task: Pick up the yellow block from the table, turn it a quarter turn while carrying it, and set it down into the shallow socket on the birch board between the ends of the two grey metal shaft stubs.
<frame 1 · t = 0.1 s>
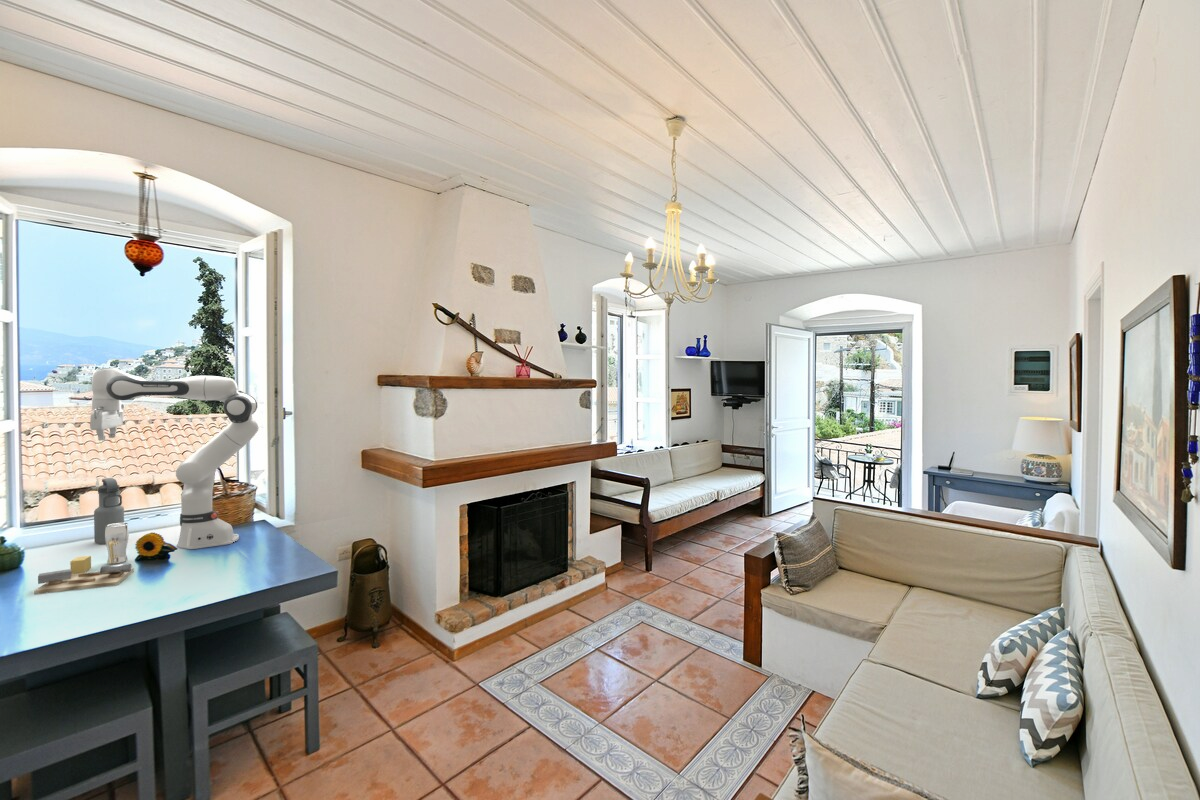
hand: (107, 438, 218), 48 cm above the table, fingers open, 8 cm apart
water bottle: (109, 541, 233), on the table
yellow block: (81, 571, 198), on the table
beer glass: (117, 562, 208), on the table
board: (86, 582, 188), on the table
shafts: (85, 572, 187), on the board, point 4 cm above the table
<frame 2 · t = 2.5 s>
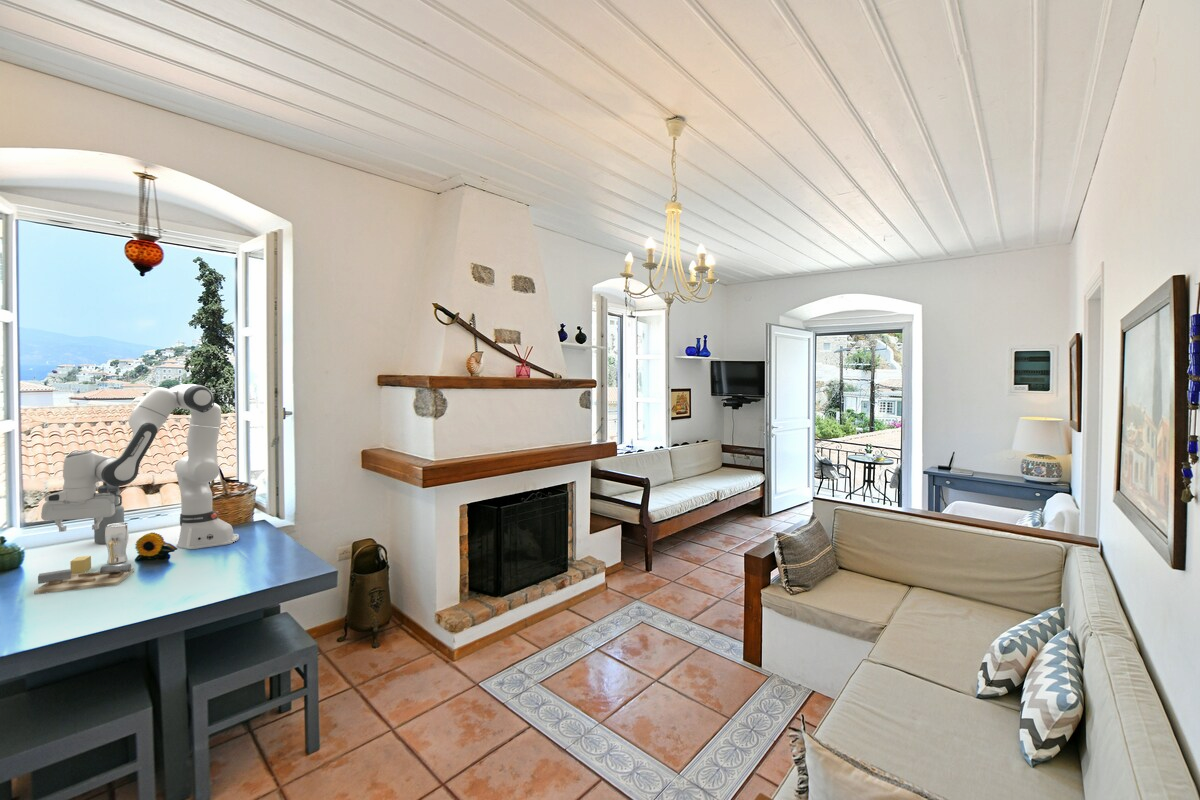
hand: (79, 530, 197), 16 cm above the table, fingers open, 8 cm apart
nothing on the table moved.
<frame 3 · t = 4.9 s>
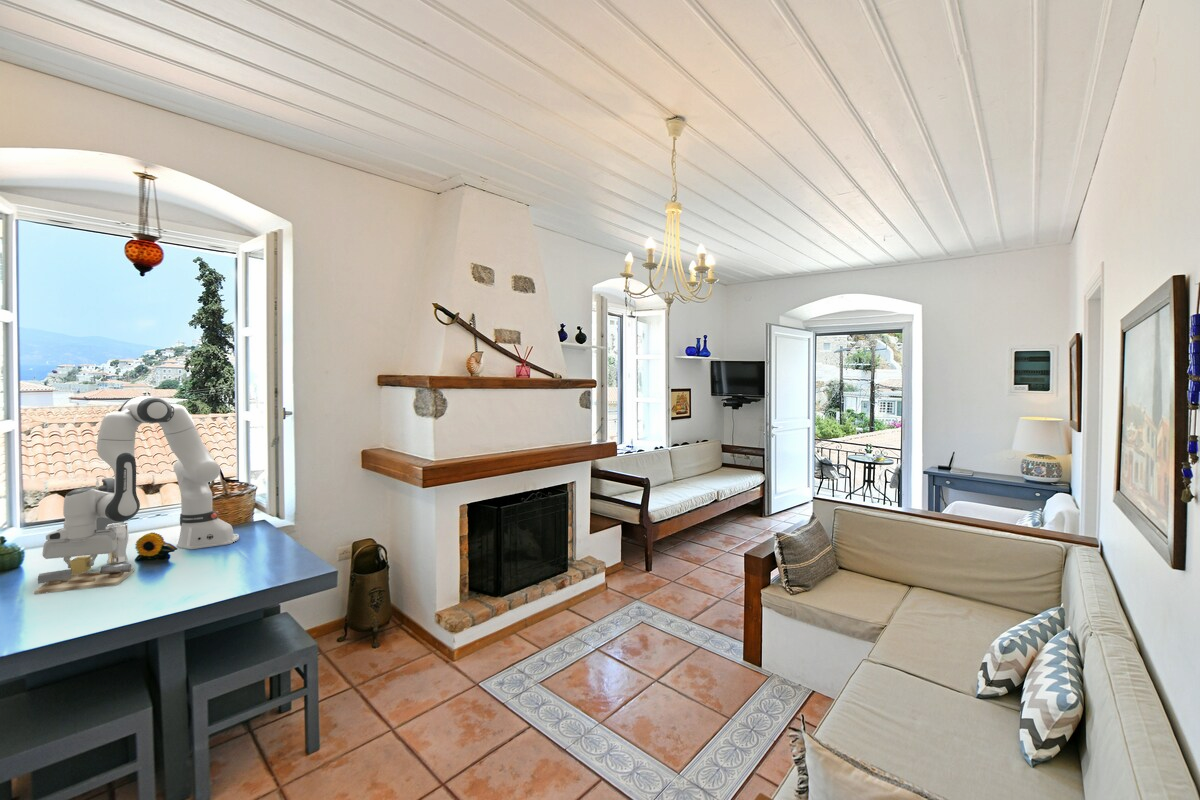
hand: (80, 566, 198), 2 cm above the table, fingers closed on yellow block, 4 cm apart
yellow block: (81, 571, 198), on the table, touching gripper
everything else where it was.
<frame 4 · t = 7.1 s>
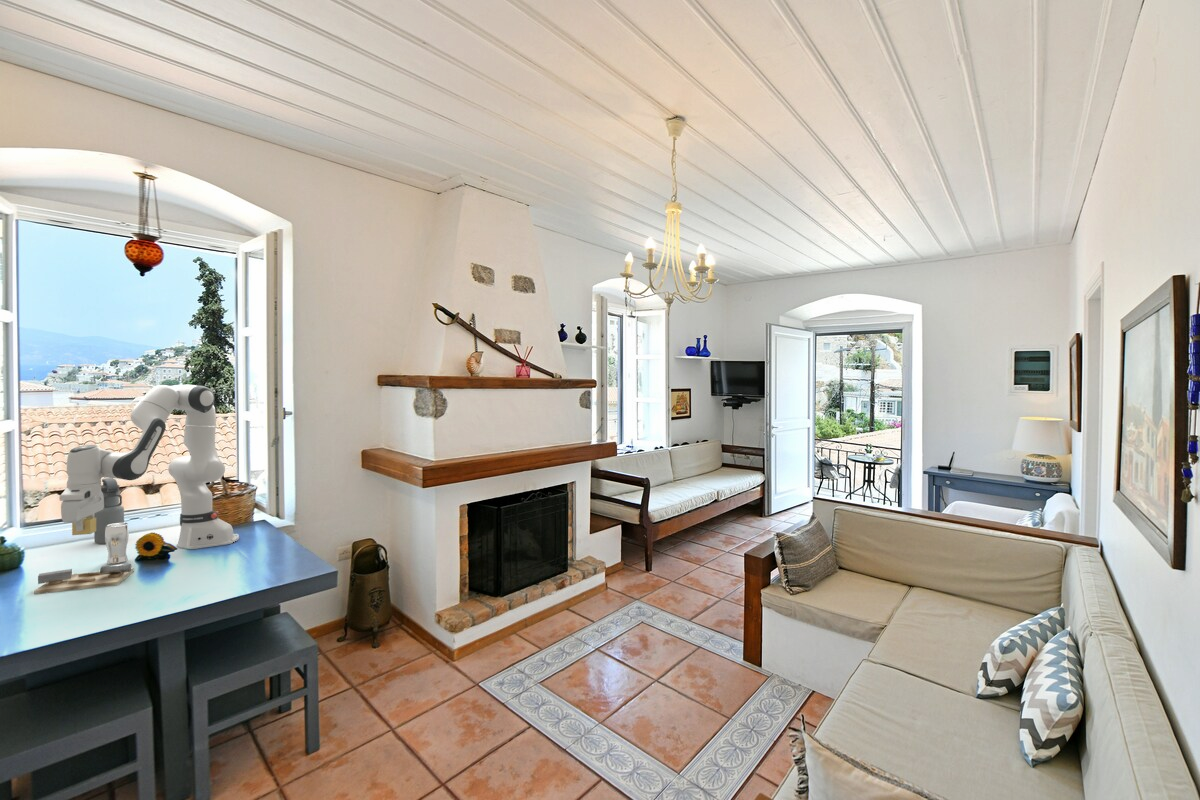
hand: (84, 528, 187), 20 cm above the table, fingers closed on yellow block, 4 cm apart
yellow block: (84, 533, 187), point 18 cm above the table, touching gripper
everything else where it was.
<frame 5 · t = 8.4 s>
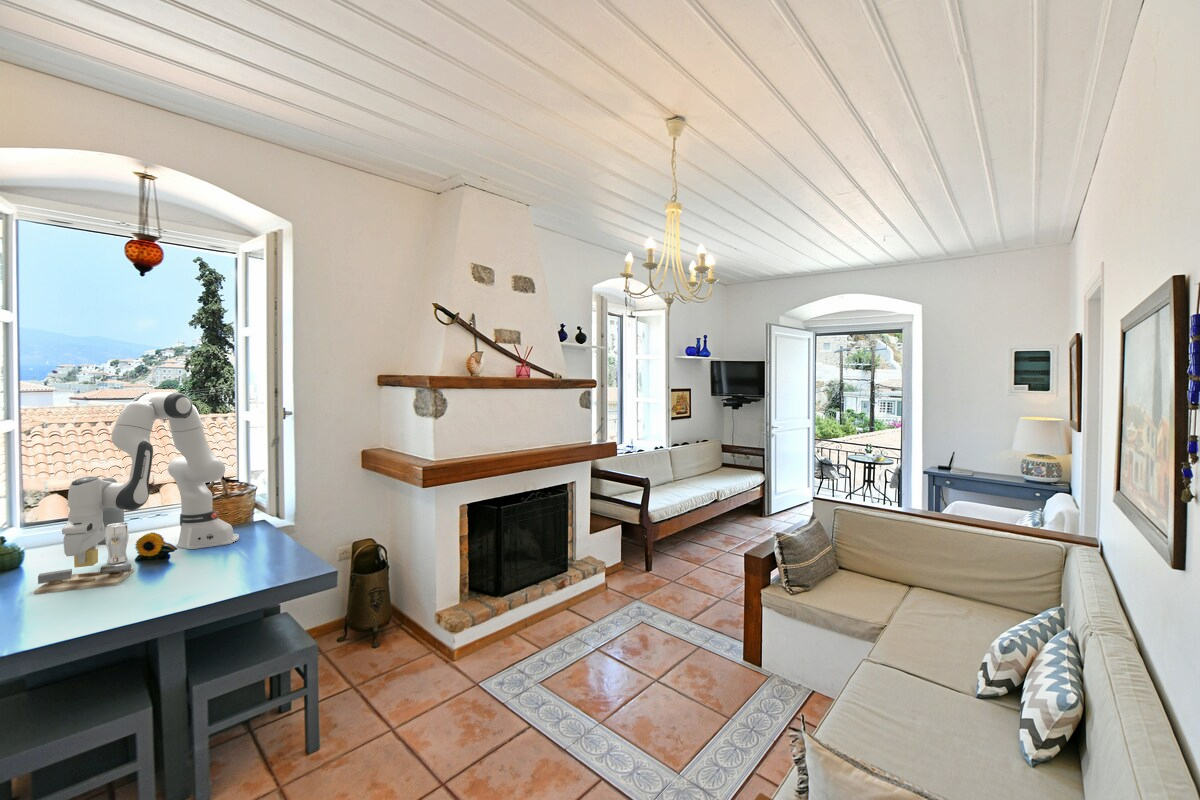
hand: (86, 560, 188), 8 cm above the table, fingers closed on yellow block, 4 cm apart
yellow block: (86, 564, 188), point 6 cm above the table, touching gripper
everything else where it was.
when the fingers open (4 cm above the table, at t = 9.4 s): yellow block drops 1 cm, resting on board.
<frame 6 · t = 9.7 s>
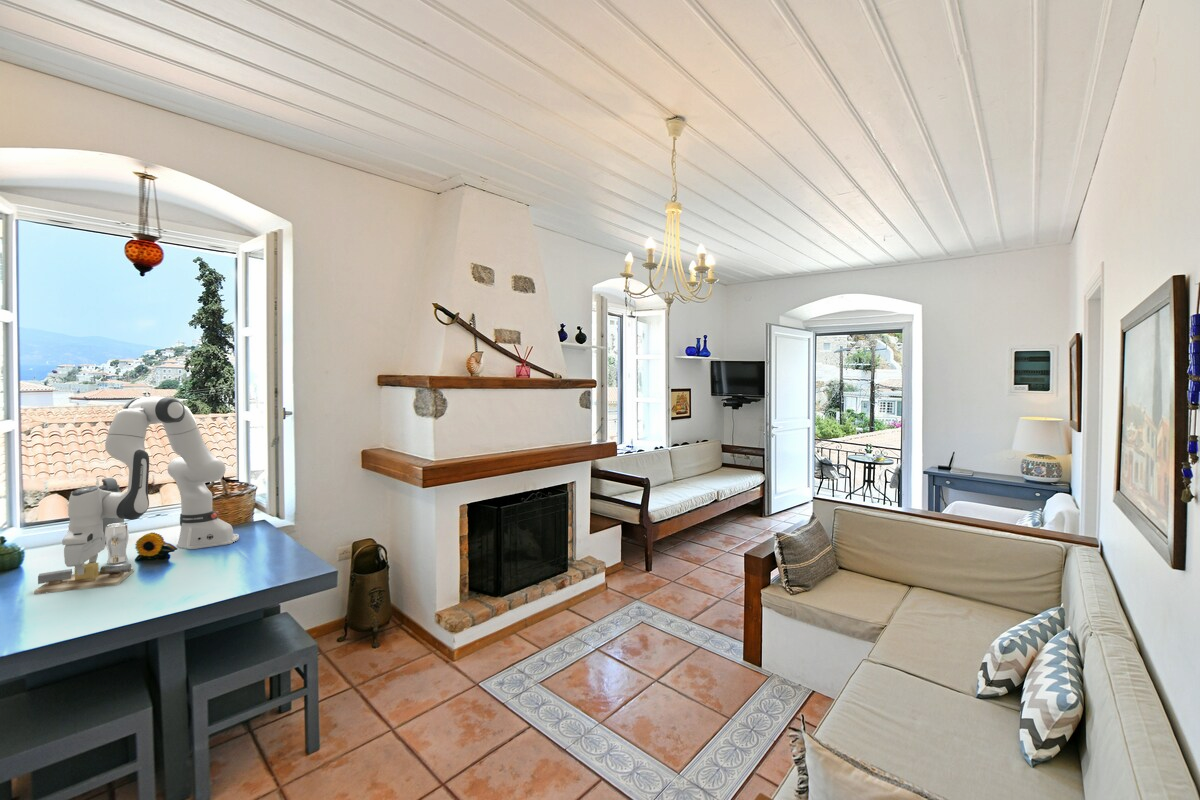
hand: (86, 570, 188), 4 cm above the table, fingers open, 6 cm apart
yellow block: (86, 578, 188), point 1 cm above the table, touching board
everything else where it was.
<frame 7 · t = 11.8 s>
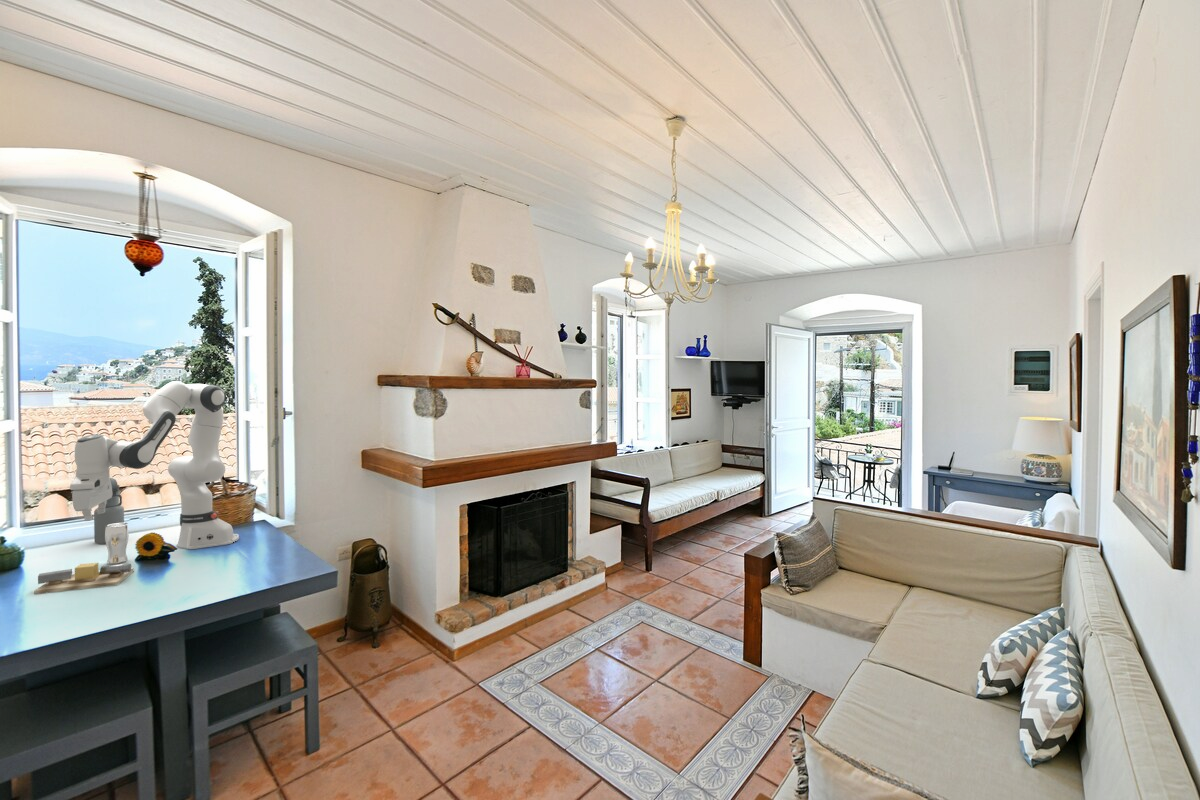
hand: (95, 516, 190), 23 cm above the table, fingers open, 8 cm apart
nothing on the table moved.
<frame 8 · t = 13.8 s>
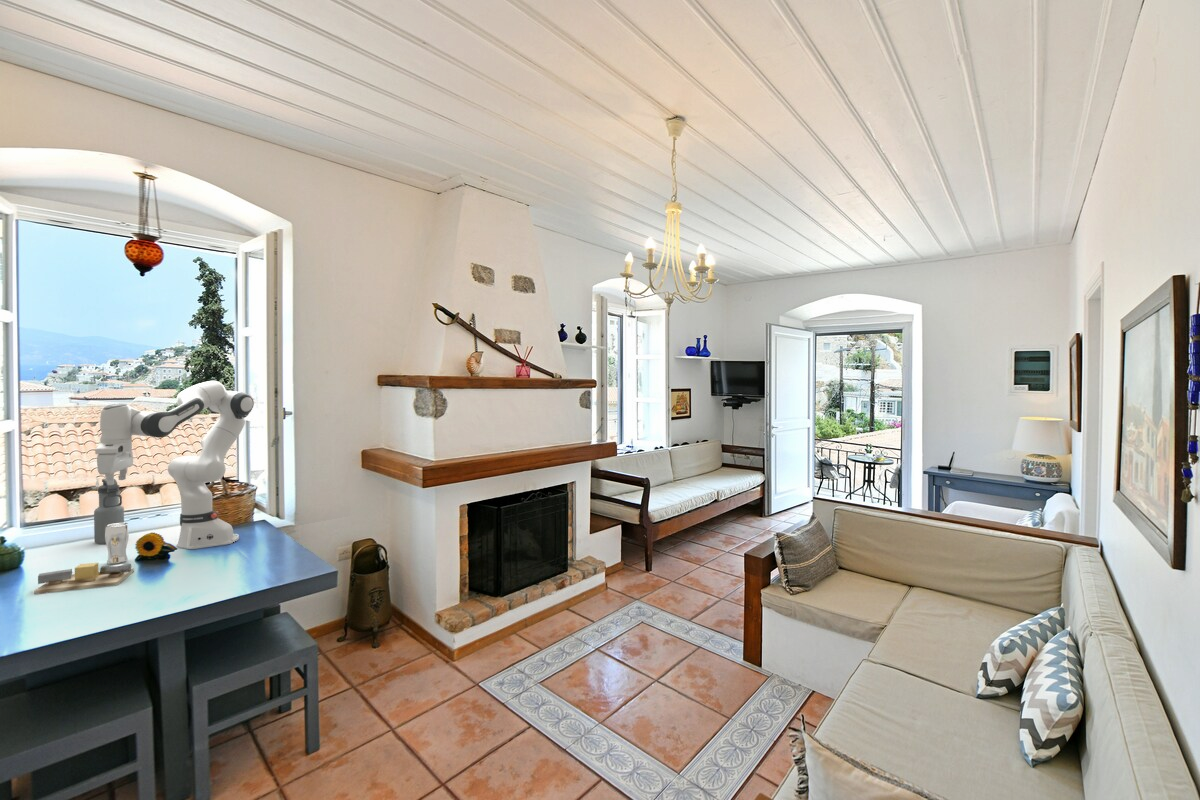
hand: (116, 482, 199), 34 cm above the table, fingers open, 8 cm apart
nothing on the table moved.
at the end: yellow block 0.0 cm off-centre on the board, point 1.2 cm above the board's base; yellow block tilted 0°; the gripper is holding nothing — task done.
